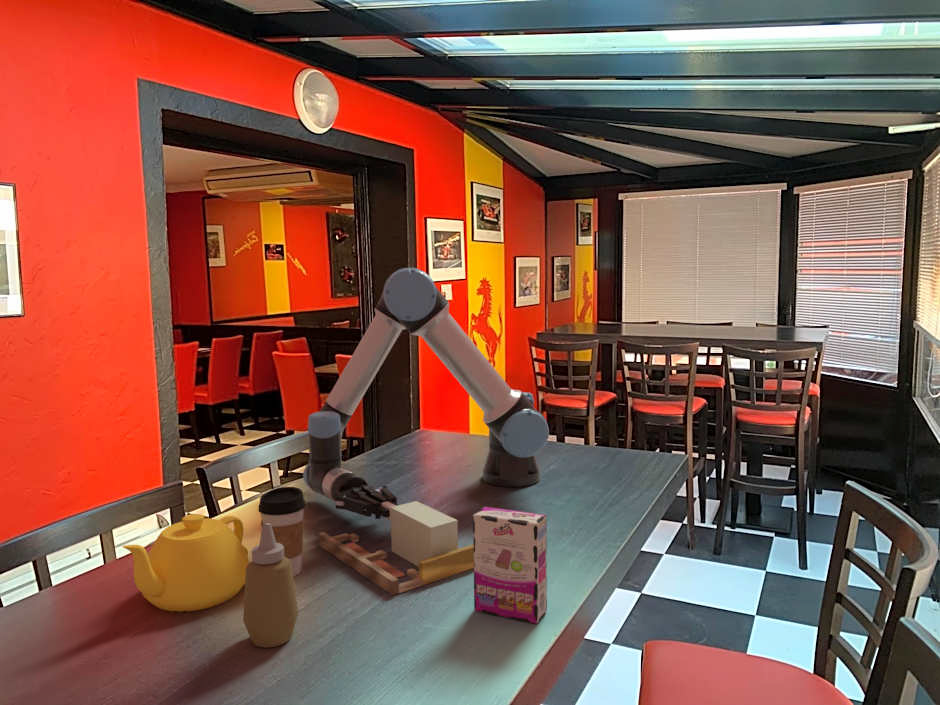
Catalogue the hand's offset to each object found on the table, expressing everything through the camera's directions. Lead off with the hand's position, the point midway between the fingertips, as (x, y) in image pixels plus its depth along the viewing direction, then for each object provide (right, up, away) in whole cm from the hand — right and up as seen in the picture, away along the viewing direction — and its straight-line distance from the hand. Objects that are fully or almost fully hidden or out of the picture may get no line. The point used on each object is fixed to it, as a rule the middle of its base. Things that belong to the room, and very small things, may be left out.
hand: (401, 516), depth 142 cm
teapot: (-34, -9, -19) cm, 40 cm away
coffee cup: (-21, -8, -10) cm, 24 cm away
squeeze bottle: (-16, -11, -34) cm, 39 cm away
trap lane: (0, -7, -3) cm, 7 cm away
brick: (+5, -7, -5) cm, 10 cm away
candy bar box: (+20, -9, -26) cm, 34 cm away
